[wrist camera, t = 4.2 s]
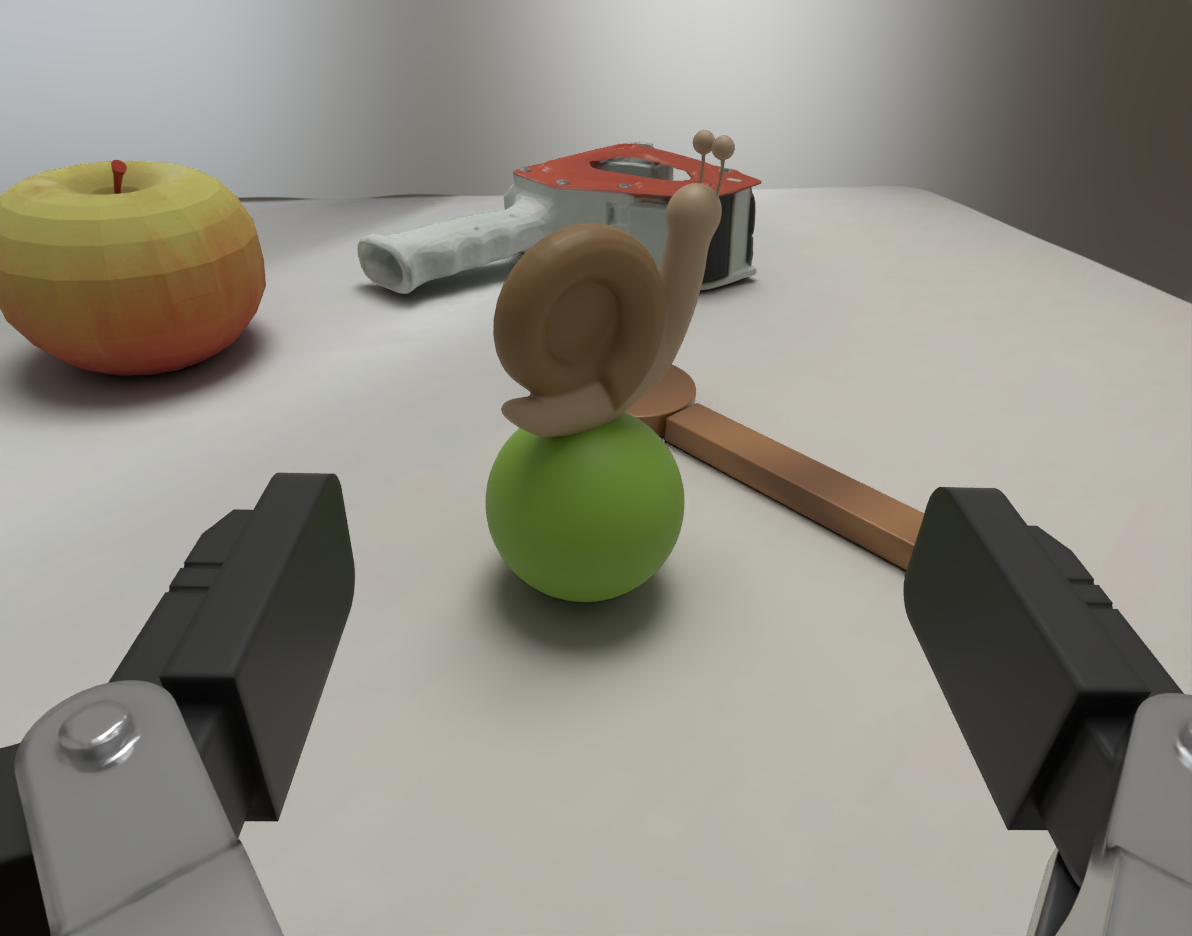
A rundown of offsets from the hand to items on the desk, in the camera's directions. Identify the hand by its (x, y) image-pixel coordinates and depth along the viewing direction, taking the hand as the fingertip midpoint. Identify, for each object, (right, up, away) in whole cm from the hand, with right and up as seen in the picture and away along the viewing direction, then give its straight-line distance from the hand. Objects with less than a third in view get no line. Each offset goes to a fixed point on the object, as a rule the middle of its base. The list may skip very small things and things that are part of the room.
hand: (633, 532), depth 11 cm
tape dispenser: (-2, +13, +36) cm, 38 cm away
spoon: (+5, +1, +18) cm, 18 cm away
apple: (-19, +6, +24) cm, 31 cm away
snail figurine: (0, -2, +13) cm, 13 cm away
